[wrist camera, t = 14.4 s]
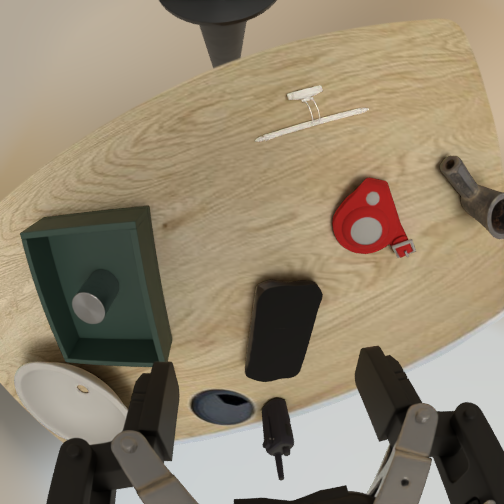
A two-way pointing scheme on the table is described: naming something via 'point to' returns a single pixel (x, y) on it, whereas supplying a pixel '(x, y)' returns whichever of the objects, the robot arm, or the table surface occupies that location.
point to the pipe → (476, 196)
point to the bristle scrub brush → (281, 328)
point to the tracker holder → (370, 221)
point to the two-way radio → (277, 431)
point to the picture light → (305, 96)
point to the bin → (79, 270)
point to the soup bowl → (70, 401)
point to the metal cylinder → (96, 296)
